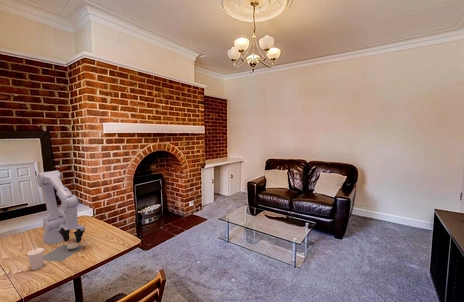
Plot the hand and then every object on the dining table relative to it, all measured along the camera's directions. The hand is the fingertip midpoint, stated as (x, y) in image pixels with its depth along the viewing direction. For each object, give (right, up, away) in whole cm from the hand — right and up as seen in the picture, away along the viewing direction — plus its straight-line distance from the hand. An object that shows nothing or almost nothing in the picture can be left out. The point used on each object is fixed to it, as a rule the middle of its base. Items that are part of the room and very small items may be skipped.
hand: (72, 241), depth 122 cm
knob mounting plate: (-4, -6, -3) cm, 8 cm away
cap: (0, -3, 0) cm, 3 cm away
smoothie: (-6, -8, -16) cm, 18 cm away
